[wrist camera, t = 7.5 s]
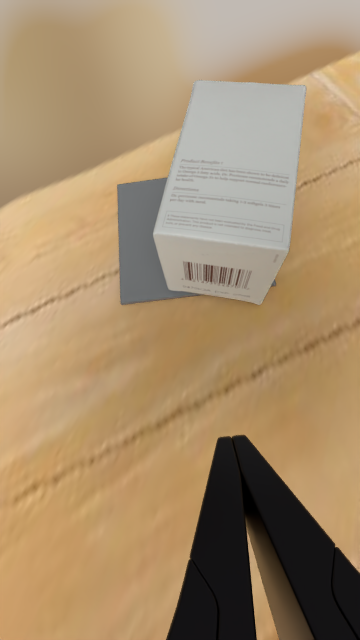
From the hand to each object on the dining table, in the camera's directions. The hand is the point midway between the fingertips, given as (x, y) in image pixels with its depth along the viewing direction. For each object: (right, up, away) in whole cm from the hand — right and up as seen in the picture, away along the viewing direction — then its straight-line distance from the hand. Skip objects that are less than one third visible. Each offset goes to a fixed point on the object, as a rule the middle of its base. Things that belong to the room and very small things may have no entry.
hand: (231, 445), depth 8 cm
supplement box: (+1, +6, +9) cm, 11 cm away
